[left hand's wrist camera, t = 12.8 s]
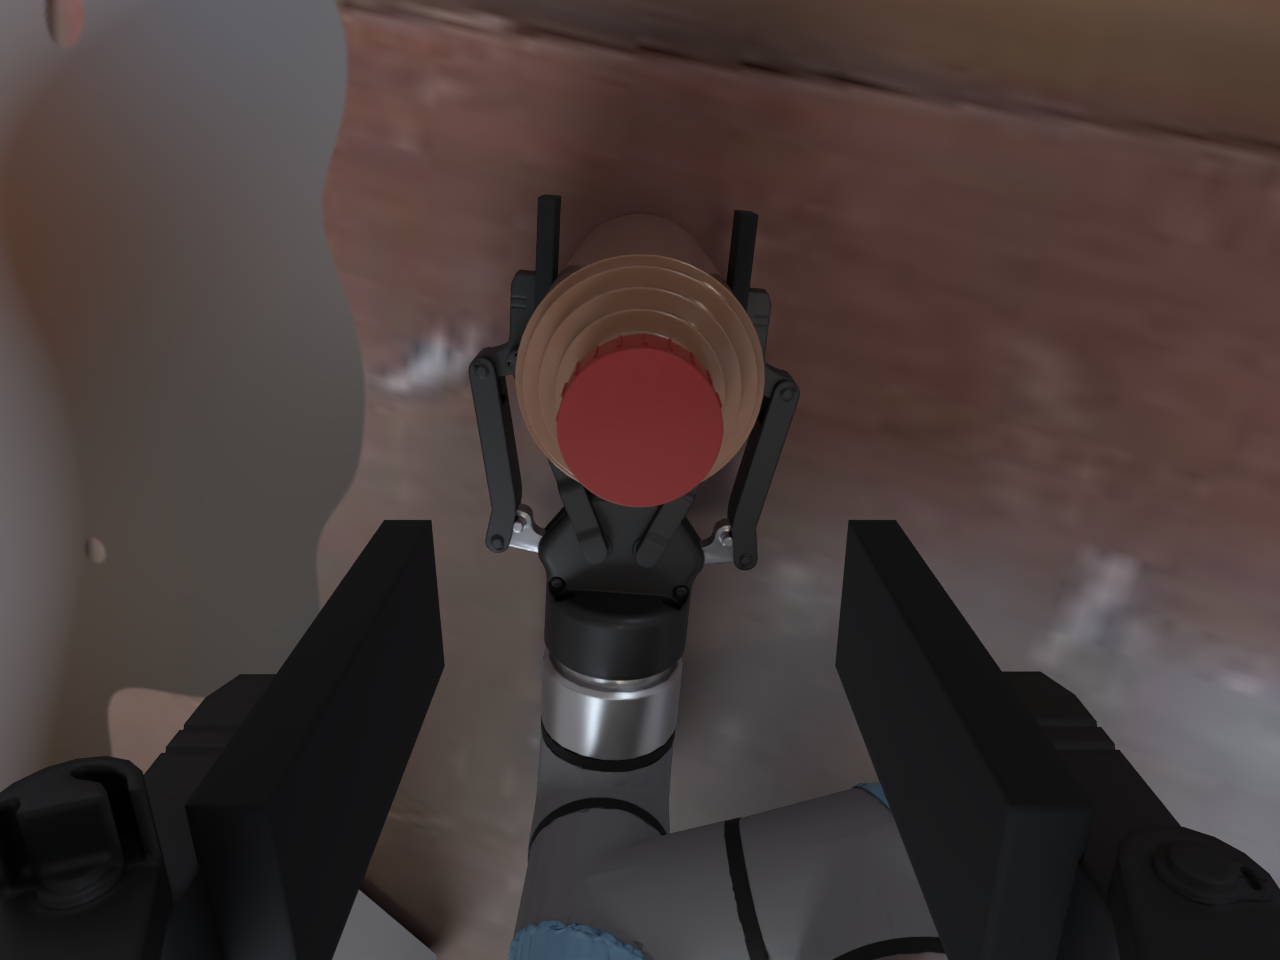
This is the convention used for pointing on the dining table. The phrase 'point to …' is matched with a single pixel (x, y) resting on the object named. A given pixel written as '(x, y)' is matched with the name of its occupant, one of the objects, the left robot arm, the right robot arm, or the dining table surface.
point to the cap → (640, 421)
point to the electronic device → (377, 936)
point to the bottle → (639, 324)
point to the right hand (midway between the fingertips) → (648, 205)
